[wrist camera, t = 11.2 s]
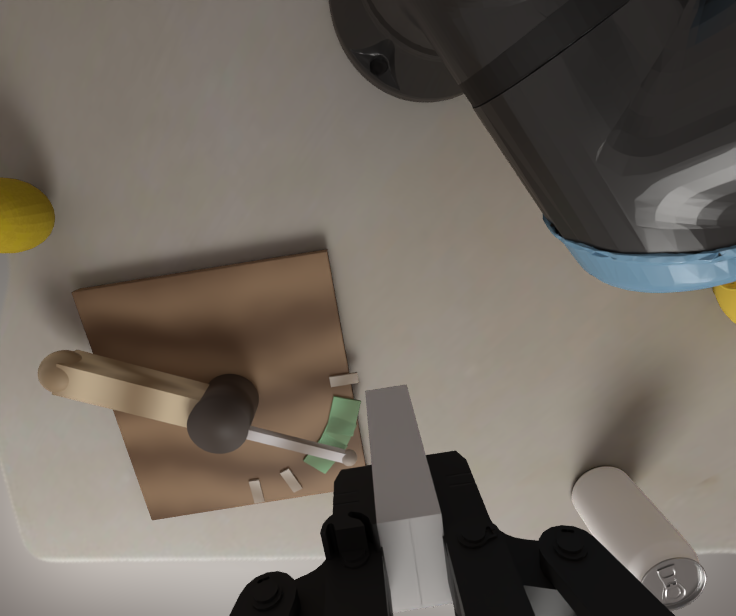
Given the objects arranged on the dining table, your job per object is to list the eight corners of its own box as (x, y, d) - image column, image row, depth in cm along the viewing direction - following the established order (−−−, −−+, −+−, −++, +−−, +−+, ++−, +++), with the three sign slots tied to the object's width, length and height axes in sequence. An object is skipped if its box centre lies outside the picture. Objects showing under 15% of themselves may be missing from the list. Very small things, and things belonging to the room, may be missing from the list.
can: (579, 523, 52) (645, 625, 41) (561, 477, 50) (626, 571, 39) (636, 501, 52) (719, 598, 40) (620, 454, 50) (703, 543, 38)
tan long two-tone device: (55, 378, 43) (16, 408, 38) (63, 328, 42) (24, 351, 36) (347, 452, 47) (348, 488, 41) (363, 408, 45) (366, 439, 40)
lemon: (33, 161, 39) (-43, 162, 31) (88, 214, 40) (28, 227, 33) (-11, 206, 40) (-95, 218, 32) (44, 256, 41) (-24, 279, 33)
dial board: (78, 288, 42) (70, 293, 41) (336, 247, 42) (335, 250, 41) (156, 511, 49) (151, 521, 48) (375, 477, 49) (376, 486, 48)
